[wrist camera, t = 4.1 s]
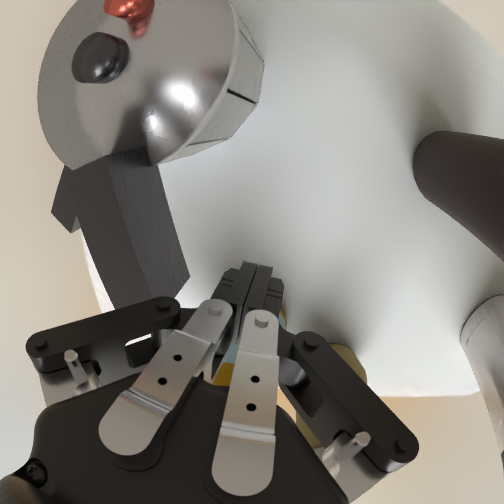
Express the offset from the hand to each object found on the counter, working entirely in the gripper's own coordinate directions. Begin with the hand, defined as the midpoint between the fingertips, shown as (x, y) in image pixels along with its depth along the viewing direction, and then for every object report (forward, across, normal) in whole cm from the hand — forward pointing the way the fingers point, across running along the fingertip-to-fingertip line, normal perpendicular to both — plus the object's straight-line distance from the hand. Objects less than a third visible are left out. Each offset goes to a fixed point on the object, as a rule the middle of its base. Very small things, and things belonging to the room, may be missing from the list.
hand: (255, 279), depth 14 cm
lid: (+2, +9, -8) cm, 12 cm away
